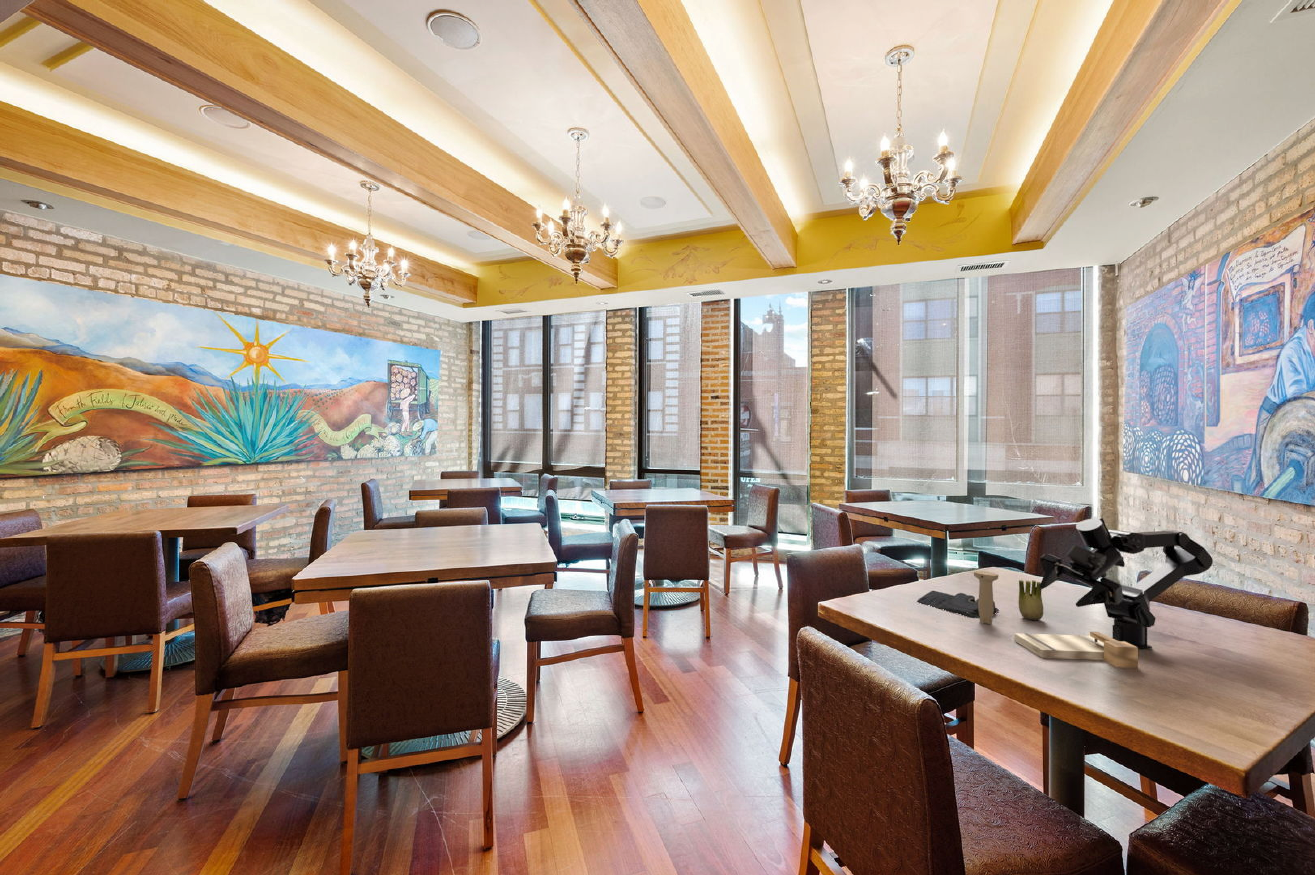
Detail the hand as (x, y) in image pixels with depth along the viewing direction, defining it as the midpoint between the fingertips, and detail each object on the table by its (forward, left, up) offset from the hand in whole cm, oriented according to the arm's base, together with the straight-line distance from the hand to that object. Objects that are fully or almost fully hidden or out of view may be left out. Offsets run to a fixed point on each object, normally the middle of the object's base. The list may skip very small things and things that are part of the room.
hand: (1058, 596), depth 142 cm
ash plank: (-3, -1, -14) cm, 15 cm away
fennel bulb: (-9, -27, -15) cm, 32 cm away
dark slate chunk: (+8, -38, -15) cm, 42 cm away
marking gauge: (-10, +4, -14) cm, 18 cm away
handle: (+7, -22, -15) cm, 27 cm away
